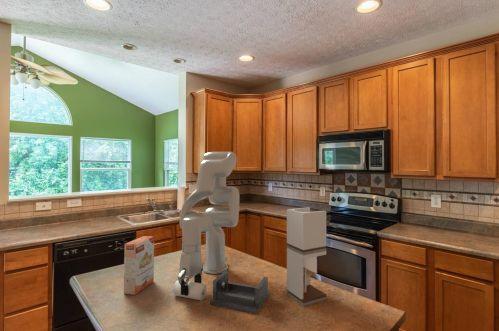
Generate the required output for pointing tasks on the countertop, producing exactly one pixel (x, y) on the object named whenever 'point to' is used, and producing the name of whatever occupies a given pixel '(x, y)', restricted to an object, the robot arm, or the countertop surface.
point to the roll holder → (239, 294)
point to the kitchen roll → (191, 290)
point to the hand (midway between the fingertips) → (191, 289)
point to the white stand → (304, 253)
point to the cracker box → (138, 264)
